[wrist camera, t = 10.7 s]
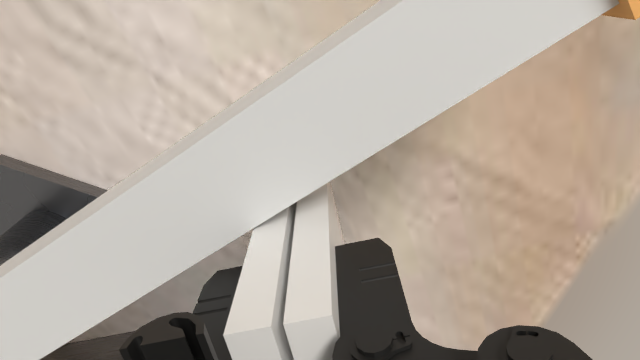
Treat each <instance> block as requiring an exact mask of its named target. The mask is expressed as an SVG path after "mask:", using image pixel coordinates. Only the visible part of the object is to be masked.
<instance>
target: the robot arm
mask: <svg viewBox="0 0 640 360" xmlns="http://www.w3.org/2000/svg"><path fill="white" fill-rule="evenodd" d="M119 351H120V353H121V355H122V358H123V360H592V359H591V358H590V357H589V356H588V355H587V354H586V353H584V352H583V351H582V350H581V349H580V348H579V347H578V346H576V345H575V344H574V343H573V342H571V341H570V340H568V339H566V338H565V337H563V336H562V335H560V334H559V333H557V332H553V331H550V330H547V329H544V328H541V327H536V326H520V325H518V326H513V327H508V328H503V329H500V330H498V331H496V332H494V333H492V334H491V335H489V336H487V337H486V338H485V340H484V341H483V342H482V344H481V345H480V347H479V348H478V351H469V350H457V349H451V348H445V347H442V346H439V345H436V344H434V343H431V342H430V341H428V340H427V339H425V338H423V337H422V336H421V335H420V334H419V333H418V332H417V331H416V330H415V327H414V325H413V323H412V321H411V317H410V314H409V310H408V306H407V303H406V299H405V296H404V292H403V289H402V285H401V281H400V278H399V275H398V271H397V267H396V264H395V260H394V256H393V253H392V249H391V247H390V246H388V245H387V244H386V243H384V242H383V241H382V240H381V239H379V238H375V239H370V240H365V241H360V242H354V243H349V244H345V243H344V239H343V234H342V230H341V226H340V222H339V217H338V213H337V209H336V204H335V200H334V196H333V191H332V187H331V183H330V182H328V183H326V184H325V185H323V186H321V187H320V188H318V189H317V190H315V191H313V192H312V193H310V194H308V195H307V196H305V197H304V198H302V199H300V200H299V201H297V202H295V203H294V204H292V205H291V206H289V207H287V208H286V209H284V210H282V211H281V212H279V213H277V214H276V215H274V216H273V217H271V218H269V219H268V220H266V221H264V222H263V223H261V224H260V225H258V226H256V227H255V228H254V229H253V232H252V236H251V239H250V243H249V246H248V250H247V253H246V257H245V260H244V264H243V266H240V267H235V268H230V269H225V270H219V271H217V272H216V273H215V274H214V275H213V276H212V277H211V279H210V280H209V281H208V282H207V283H206V284H205V285H204V286H203V289H202V291H201V294H200V296H199V299H198V304H196V306H195V309H194V311H193V314H191V313H188V312H186V313H173V314H170V315H166V316H163V317H160V318H157V319H155V320H153V321H151V322H150V323H148V324H146V325H144V326H142V327H141V328H139V329H138V330H137V331H136V332H134V333H133V334H132V335H131V336H129V337H128V338H127V340H126V341H125V342H124V343H123V345H122V346H121V347H120V349H119Z"/></svg>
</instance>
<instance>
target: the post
mask: <svg viewBox="0 0 640 360" xmlns="http://www.w3.org/2000/svg"><path fill="white" fill-rule="evenodd" d="M105 192H107V190H104V189H101V188H98V187H96V186H93V185H90V184H87V183H84V182H81V181H78V180H75V179H72V178H69V177H66V176H63V175H60V174H57V173H54V172H52V171H49V170H46V169H43V168H40V167H37V166H34V165H31V164H28V163H25V162H22V161H19V160H16V159H13V158H10V157H7V156H5V155H0V266H1V265H2V264H3V263H5V262H6V261H8V260H9V259H11V258H12V257H13V256H15V255H16V254H18V253H19V252H21V251H22V250H23V249H25V248H26V247H28V246H29V245H31V244H32V243H33V242H35V241H36V240H38V239H39V238H41V237H42V236H44V235H45V234H46V233H48V232H49V231H51V230H52V229H54V228H55V227H56V226H58V225H59V224H61V223H62V222H64V221H65V220H66V219H68V218H69V217H71V216H72V215H74V214H75V213H76V212H78V211H79V210H81V209H82V208H84V207H85V206H86V205H88V204H89V203H91V202H92V201H94V200H95V199H96V198H98V197H99V196H101V195H102V194H104V193H105Z"/></svg>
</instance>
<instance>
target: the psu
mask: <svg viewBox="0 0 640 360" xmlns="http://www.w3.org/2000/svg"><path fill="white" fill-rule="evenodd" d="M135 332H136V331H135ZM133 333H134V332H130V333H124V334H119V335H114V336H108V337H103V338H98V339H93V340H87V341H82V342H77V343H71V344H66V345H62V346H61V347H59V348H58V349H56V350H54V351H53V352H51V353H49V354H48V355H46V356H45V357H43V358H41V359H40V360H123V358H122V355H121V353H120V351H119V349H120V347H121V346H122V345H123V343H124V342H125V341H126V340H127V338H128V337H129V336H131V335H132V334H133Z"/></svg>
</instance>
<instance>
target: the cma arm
mask: <svg viewBox="0 0 640 360" xmlns="http://www.w3.org/2000/svg"><path fill="white" fill-rule="evenodd" d="M600 15H605V16H612V17H619V18H626V19H633V20H636V19H638V18H639V17H640V0H380V1H379V2H377V3H376V4H374V5H373V6H371V7H370V8H369V9H367V10H366V11H364V12H363V13H361V14H360V15H358V16H357V17H356V18H354V19H353V20H351V21H350V22H348V23H347V24H346V25H344V26H343V27H341V28H340V29H338V30H337V31H336V32H334V33H333V34H331V35H330V36H328V37H327V38H326V39H324V40H323V41H321V42H320V43H318V44H317V45H316V46H314V47H313V48H311V49H310V50H308V51H307V52H306V53H304V54H303V55H301V56H300V57H298V58H297V59H295V60H294V61H293V62H291V63H290V64H288V65H287V66H285V67H284V68H283V69H281V70H280V71H278V72H277V73H275V74H274V75H273V76H271V77H270V78H268V79H267V80H265V81H264V82H263V83H261V84H260V85H258V86H257V87H255V88H254V89H253V90H251V91H250V92H248V93H247V94H245V95H244V96H243V97H241V98H240V99H238V100H237V101H235V102H234V103H232V104H231V105H230V106H228V107H227V108H225V109H224V110H222V111H221V112H220V113H218V114H217V115H215V116H214V117H212V118H211V119H210V120H208V121H207V122H205V123H204V124H202V125H201V126H200V127H198V128H197V129H195V130H194V131H192V132H191V133H190V134H188V135H187V136H185V137H184V138H182V139H181V140H180V141H178V142H177V143H175V144H174V145H172V146H171V147H169V148H168V149H167V150H165V151H164V152H162V153H161V154H159V155H158V156H157V157H155V158H154V159H152V160H151V161H149V162H148V163H147V164H145V165H144V166H142V167H141V168H139V169H138V170H137V171H135V172H134V173H132V174H131V175H129V176H128V177H127V178H125V179H124V180H122V181H121V182H119V183H118V184H117V185H115V186H114V187H112V188H111V189H109V190H108V191H107V192H105V193H104V194H102V195H101V196H99V197H98V198H96V199H95V200H94V201H92V202H91V203H89V204H88V205H86V206H85V207H84V208H82V209H81V210H79V211H78V212H76V213H75V214H74V215H72V216H71V217H69V218H68V219H66V220H65V221H64V222H62V223H61V224H59V225H58V226H56V227H55V228H54V229H52V230H51V231H49V232H48V233H46V234H45V235H44V236H42V237H41V238H39V239H38V240H36V241H35V242H33V243H32V244H31V245H29V246H28V247H26V248H25V249H23V250H22V251H21V252H19V253H18V254H16V255H15V256H13V257H12V258H11V259H9V260H8V261H6V262H5V263H3V264H2V265H1V266H0V360H40V359H41V358H43V357H45V356H46V355H48V354H49V353H51V352H53V351H54V350H56V349H58V348H59V347H61V346H62V345H64V344H66V343H67V342H69V341H71V340H72V339H74V338H75V337H77V336H79V335H80V334H82V333H84V332H85V331H87V330H89V329H90V328H92V327H93V326H95V325H97V324H98V323H100V322H102V321H103V320H105V319H106V318H108V317H110V316H111V315H113V314H115V313H116V312H118V311H119V310H121V309H123V308H124V307H126V306H128V305H129V304H131V303H133V302H134V301H136V300H137V299H139V298H141V297H142V296H144V295H146V294H147V293H149V292H150V291H152V290H154V289H155V288H157V287H159V286H160V285H162V284H163V283H165V282H167V281H168V280H170V279H172V278H173V277H175V276H176V275H178V274H180V273H181V272H183V271H185V270H186V269H188V268H190V267H191V266H193V265H194V264H196V263H198V262H199V261H201V260H203V259H204V258H206V257H207V256H209V255H211V254H212V253H214V252H216V251H217V250H219V249H220V248H222V247H224V246H225V245H227V244H229V243H230V242H232V241H233V240H235V239H237V238H238V237H240V236H242V235H243V234H245V233H247V232H248V231H250V230H251V229H253V228H255V227H256V226H258V225H260V224H261V223H263V222H264V221H266V220H268V219H269V218H271V217H273V216H274V215H276V214H277V213H279V212H281V211H282V210H284V209H286V208H287V207H289V206H291V205H292V204H294V203H295V202H297V201H299V200H300V199H302V198H304V197H305V196H307V195H308V194H310V193H312V192H313V191H315V190H317V189H318V188H320V187H321V186H323V185H325V184H326V183H328V182H330V181H331V180H333V179H334V178H336V177H338V176H339V175H341V174H343V173H344V172H346V171H348V170H349V169H351V168H352V167H354V166H356V165H357V164H359V163H361V162H362V161H364V160H365V159H367V158H369V157H370V156H372V155H374V154H375V153H377V152H378V151H380V150H382V149H383V148H385V147H387V146H388V145H390V144H391V143H393V142H395V141H396V140H398V139H400V138H401V137H403V136H405V135H406V134H408V133H409V132H411V131H413V130H414V129H416V128H418V127H419V126H421V125H422V124H424V123H426V122H427V121H429V120H431V119H432V118H434V117H435V116H437V115H439V114H440V113H442V112H444V111H445V110H447V109H449V108H450V107H452V106H453V105H455V104H457V103H458V102H460V101H462V100H463V99H465V98H466V97H468V96H470V95H471V94H473V93H475V92H476V91H478V90H479V89H481V88H483V87H484V86H486V85H488V84H489V83H491V82H492V81H494V80H496V79H497V78H499V77H501V76H502V75H504V74H506V73H507V72H509V71H510V70H512V69H514V68H515V67H517V66H519V65H520V64H522V63H523V62H525V61H527V60H528V59H530V58H532V57H533V56H535V55H536V54H538V53H540V52H541V51H543V50H545V49H546V48H548V47H549V46H551V45H553V44H554V43H556V42H558V41H559V40H561V39H563V38H564V37H566V36H567V35H569V34H571V33H572V32H574V31H576V30H577V29H579V28H580V27H582V26H584V25H585V24H587V23H589V22H590V21H592V20H593V19H595V18H597V17H598V16H600Z"/></svg>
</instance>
